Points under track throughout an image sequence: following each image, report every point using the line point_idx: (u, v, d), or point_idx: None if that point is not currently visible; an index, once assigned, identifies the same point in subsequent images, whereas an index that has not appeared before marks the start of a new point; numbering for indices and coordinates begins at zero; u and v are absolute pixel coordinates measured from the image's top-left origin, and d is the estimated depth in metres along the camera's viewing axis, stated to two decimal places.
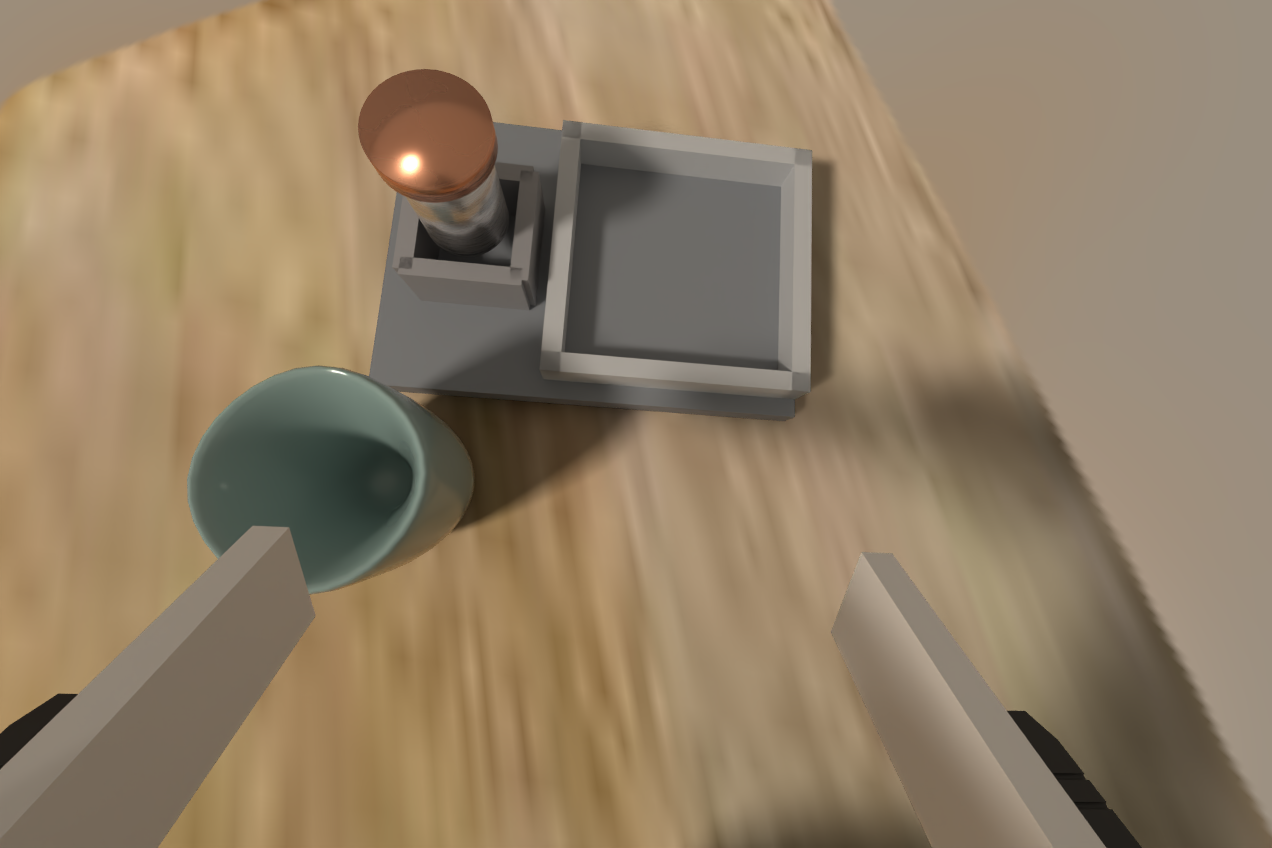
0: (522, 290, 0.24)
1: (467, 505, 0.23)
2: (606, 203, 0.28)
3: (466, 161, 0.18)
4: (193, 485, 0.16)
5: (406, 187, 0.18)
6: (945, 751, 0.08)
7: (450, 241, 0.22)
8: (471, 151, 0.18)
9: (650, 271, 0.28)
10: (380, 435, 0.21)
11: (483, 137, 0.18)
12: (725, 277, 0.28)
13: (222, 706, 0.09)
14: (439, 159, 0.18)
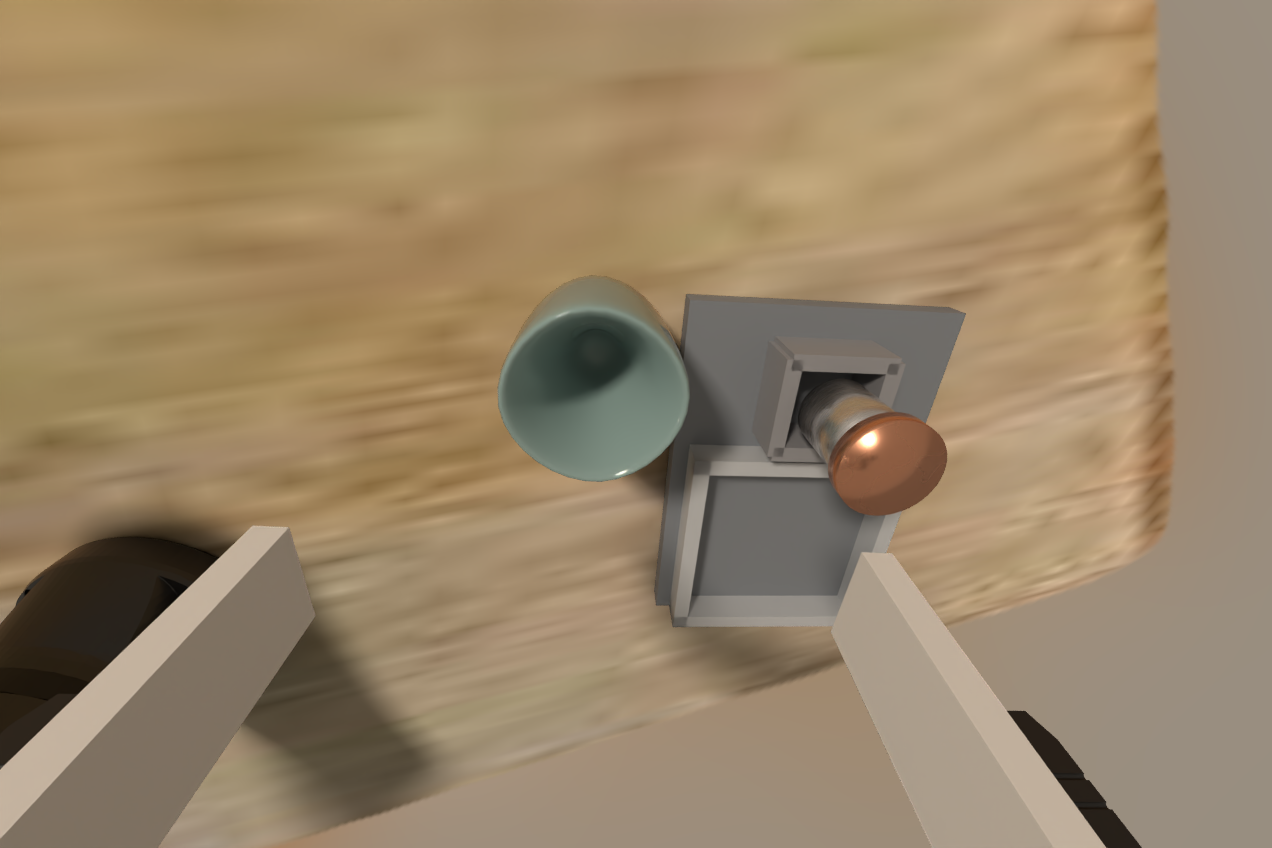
0: (764, 450, 0.28)
1: None
2: None
3: (855, 500, 0.22)
4: (582, 312, 0.18)
5: (840, 456, 0.21)
6: (945, 751, 0.08)
7: (808, 418, 0.25)
8: (864, 503, 0.22)
9: (777, 515, 0.34)
10: (635, 378, 0.24)
11: (874, 510, 0.22)
12: (767, 563, 0.36)
13: (222, 707, 0.09)
14: (860, 482, 0.21)
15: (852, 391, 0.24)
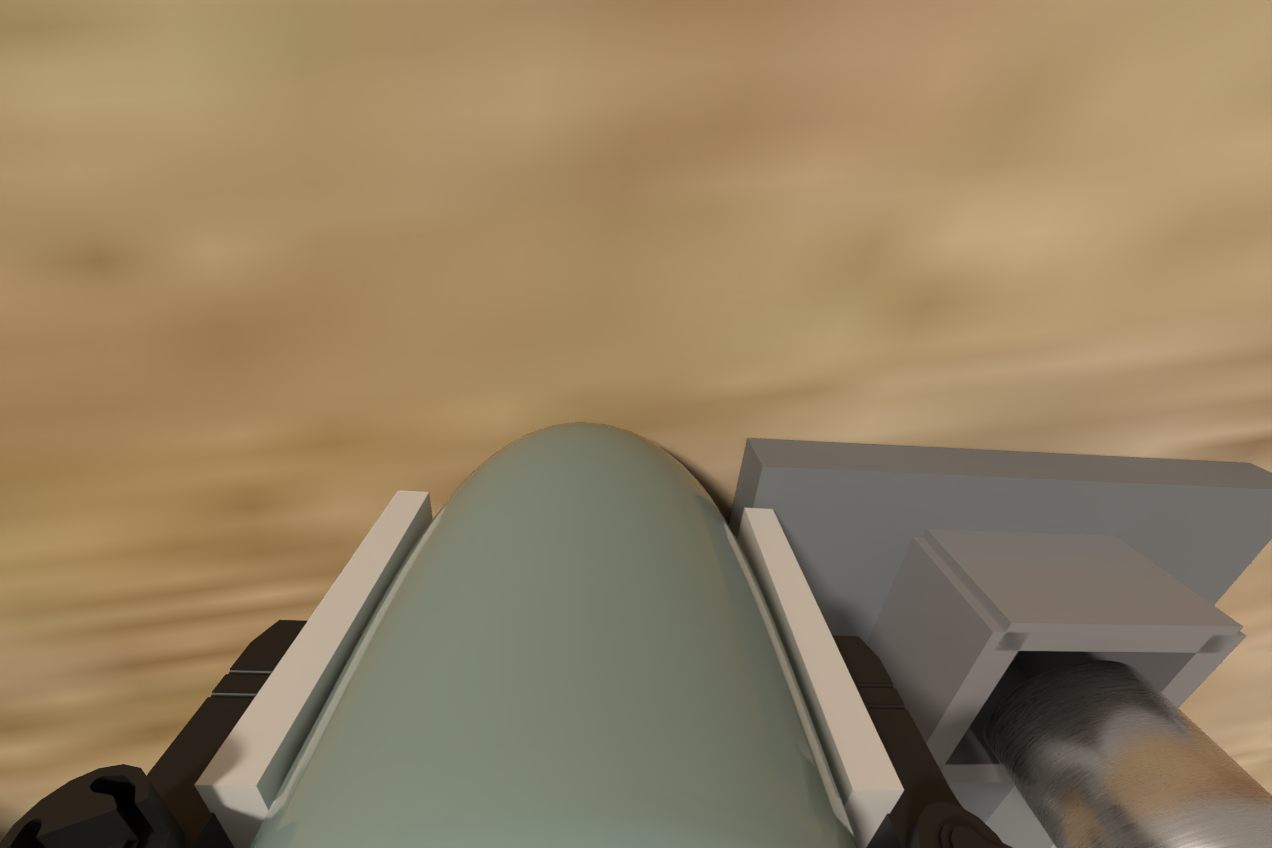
0: None
1: None
2: None
3: None
4: None
5: None
6: None
7: (1035, 763, 0.11)
8: None
9: None
10: None
11: None
12: None
13: None
14: None
15: (1166, 739, 0.10)
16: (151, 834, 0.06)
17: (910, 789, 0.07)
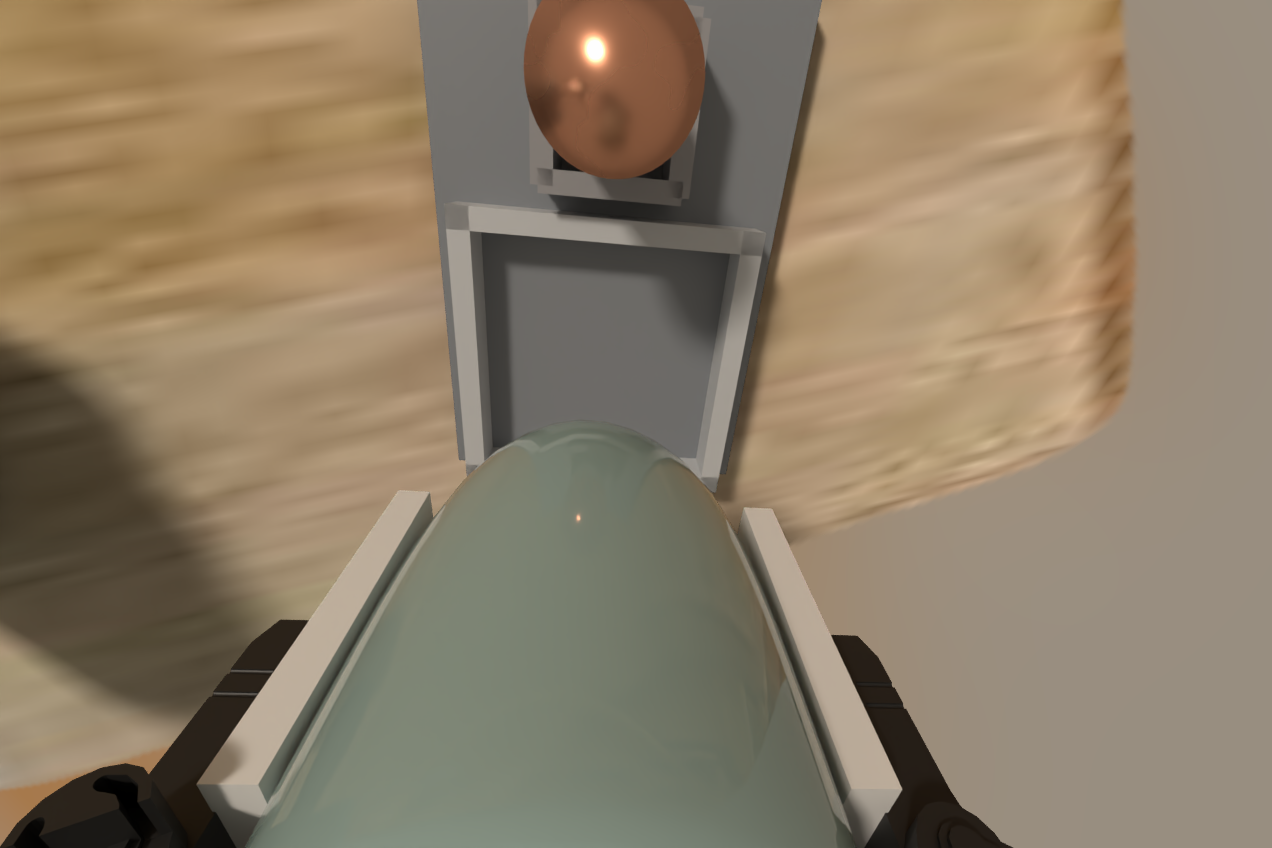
0: None
1: None
2: (679, 279, 0.24)
3: (568, 142, 0.14)
4: None
5: (527, 46, 0.13)
6: None
7: None
8: (583, 148, 0.14)
9: (598, 328, 0.25)
10: None
11: (604, 166, 0.14)
12: (596, 403, 0.27)
13: None
14: (566, 100, 0.13)
15: None
16: (153, 833, 0.06)
17: (908, 788, 0.08)
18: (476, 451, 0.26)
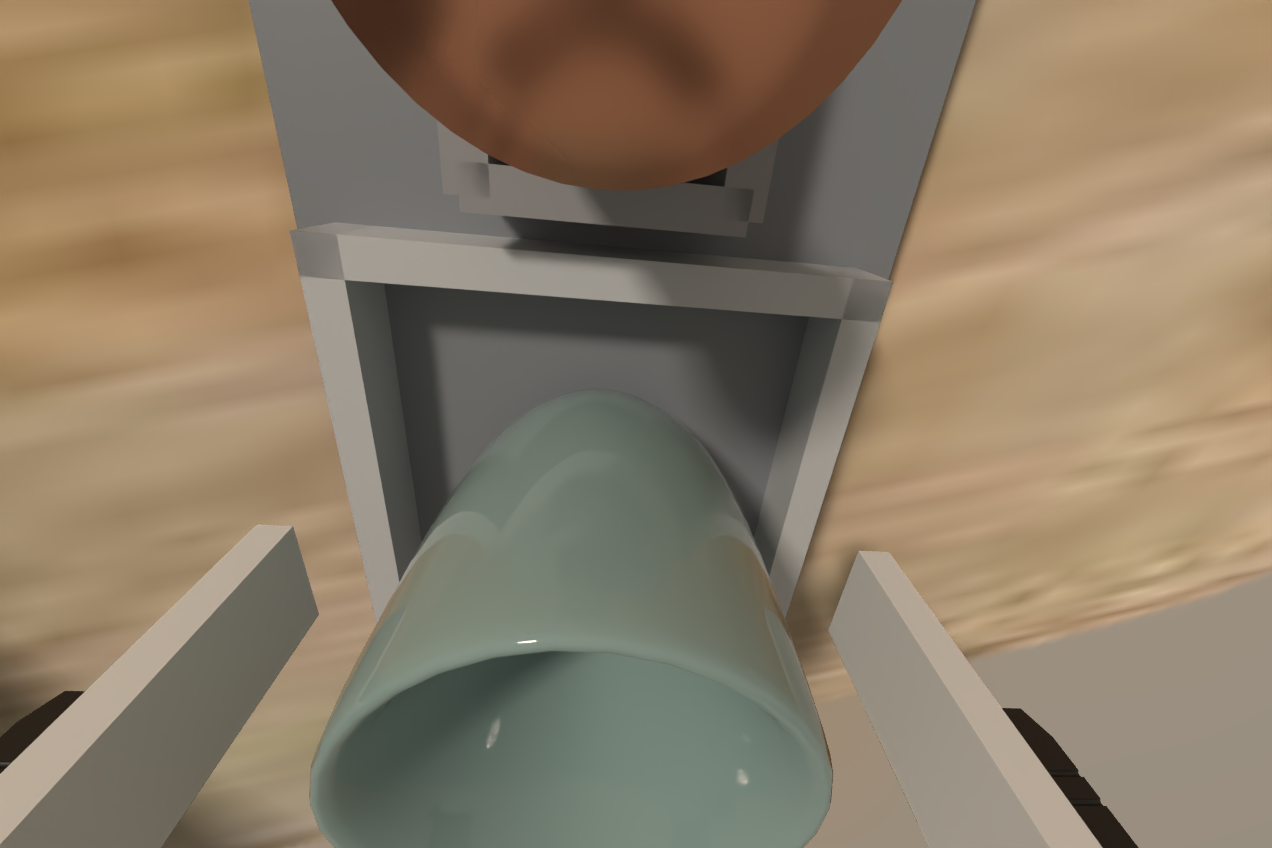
0: None
1: None
2: (724, 349, 0.15)
3: (445, 57, 0.04)
4: (534, 651, 0.06)
5: None
6: (941, 748, 0.08)
7: None
8: (502, 83, 0.04)
9: None
10: None
11: (579, 146, 0.04)
12: None
13: (226, 705, 0.09)
14: None
15: None
16: None
17: None
18: None
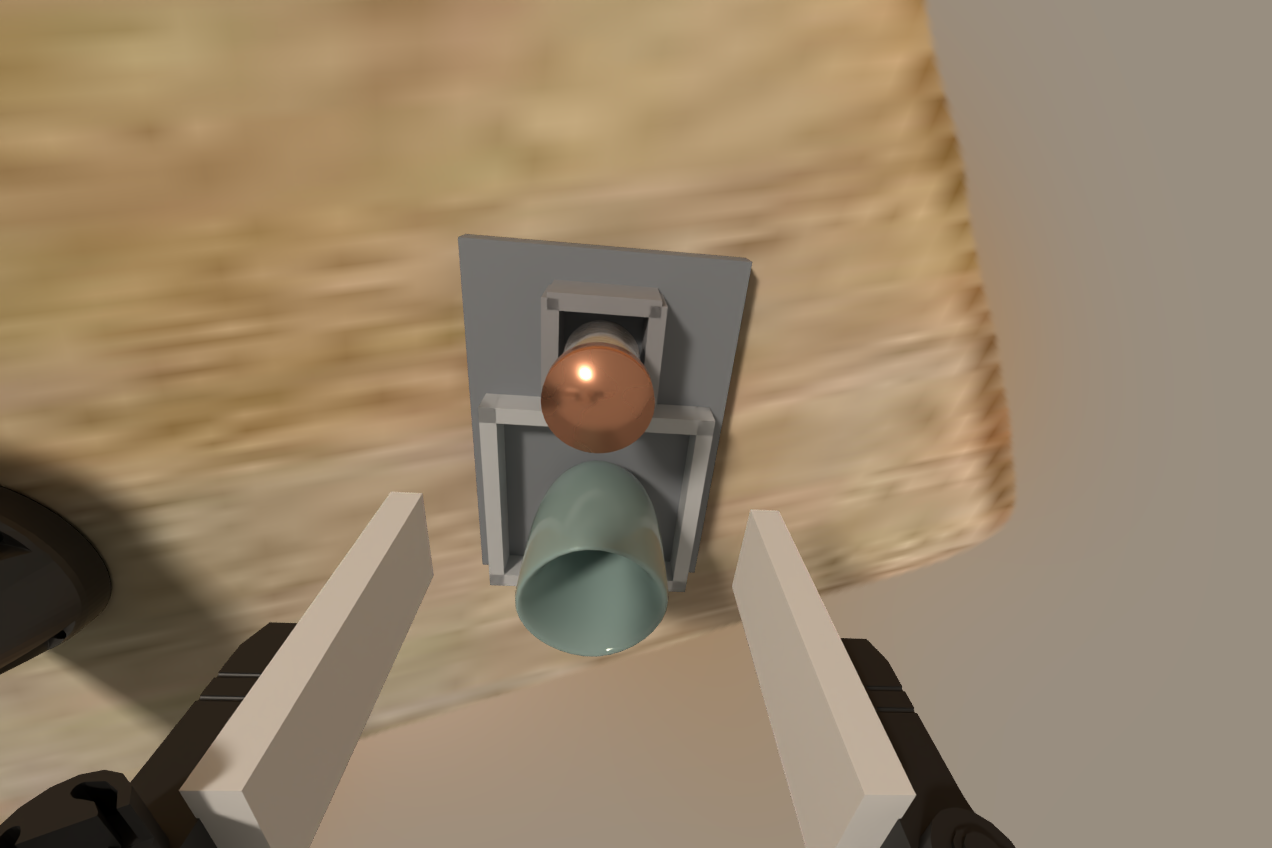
0: None
1: None
2: (653, 440, 0.32)
3: (568, 435, 0.21)
4: (582, 550, 0.23)
5: None
6: (789, 671, 0.10)
7: None
8: (578, 438, 0.21)
9: None
10: (627, 559, 0.29)
11: (591, 447, 0.21)
12: None
13: (385, 642, 0.10)
14: (567, 415, 0.21)
15: (595, 330, 0.23)
16: (134, 840, 0.06)
17: (921, 793, 0.07)
18: (497, 565, 0.34)
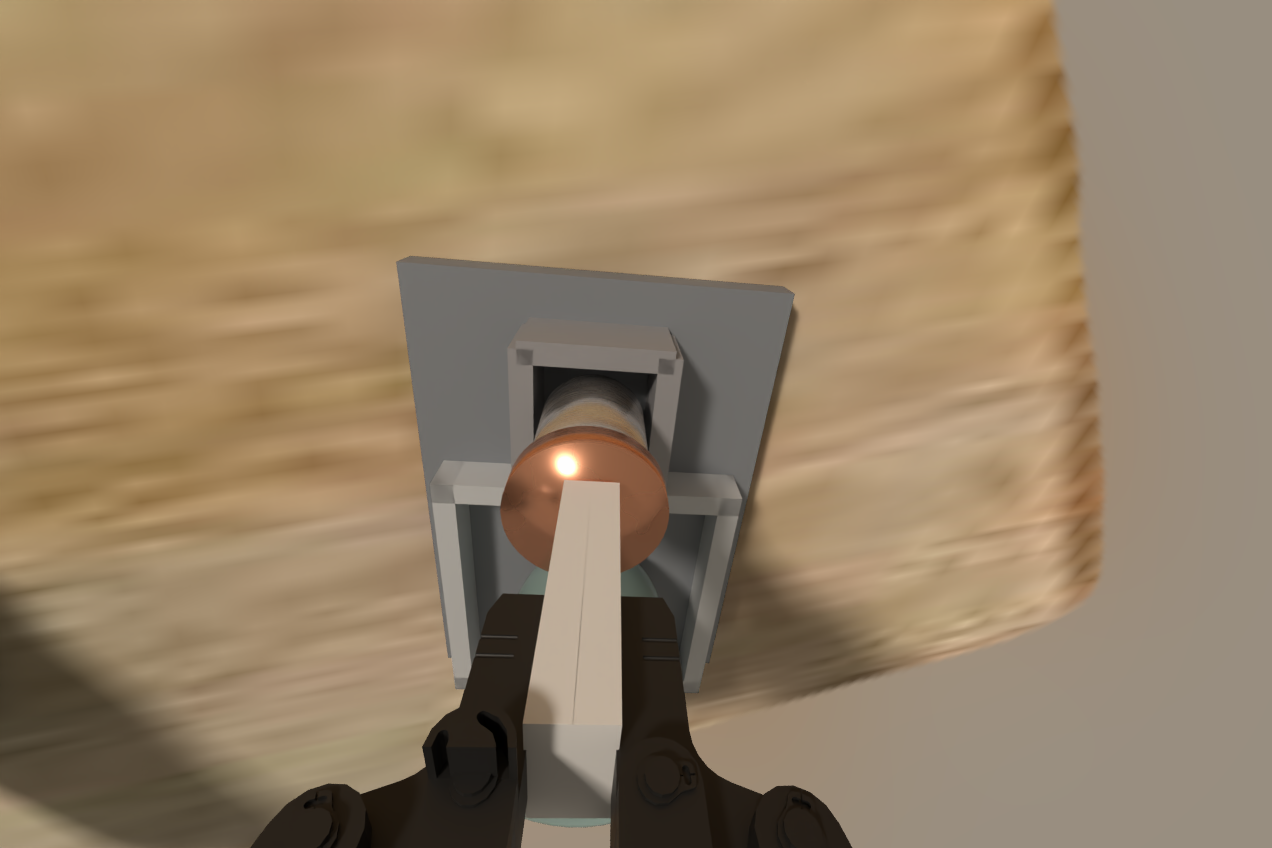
0: None
1: None
2: None
3: (543, 556, 0.15)
4: None
5: (503, 492, 0.14)
6: None
7: None
8: None
9: None
10: None
11: None
12: None
13: None
14: (541, 531, 0.14)
15: (584, 393, 0.17)
16: (506, 775, 0.07)
17: (649, 729, 0.08)
18: (464, 667, 0.27)
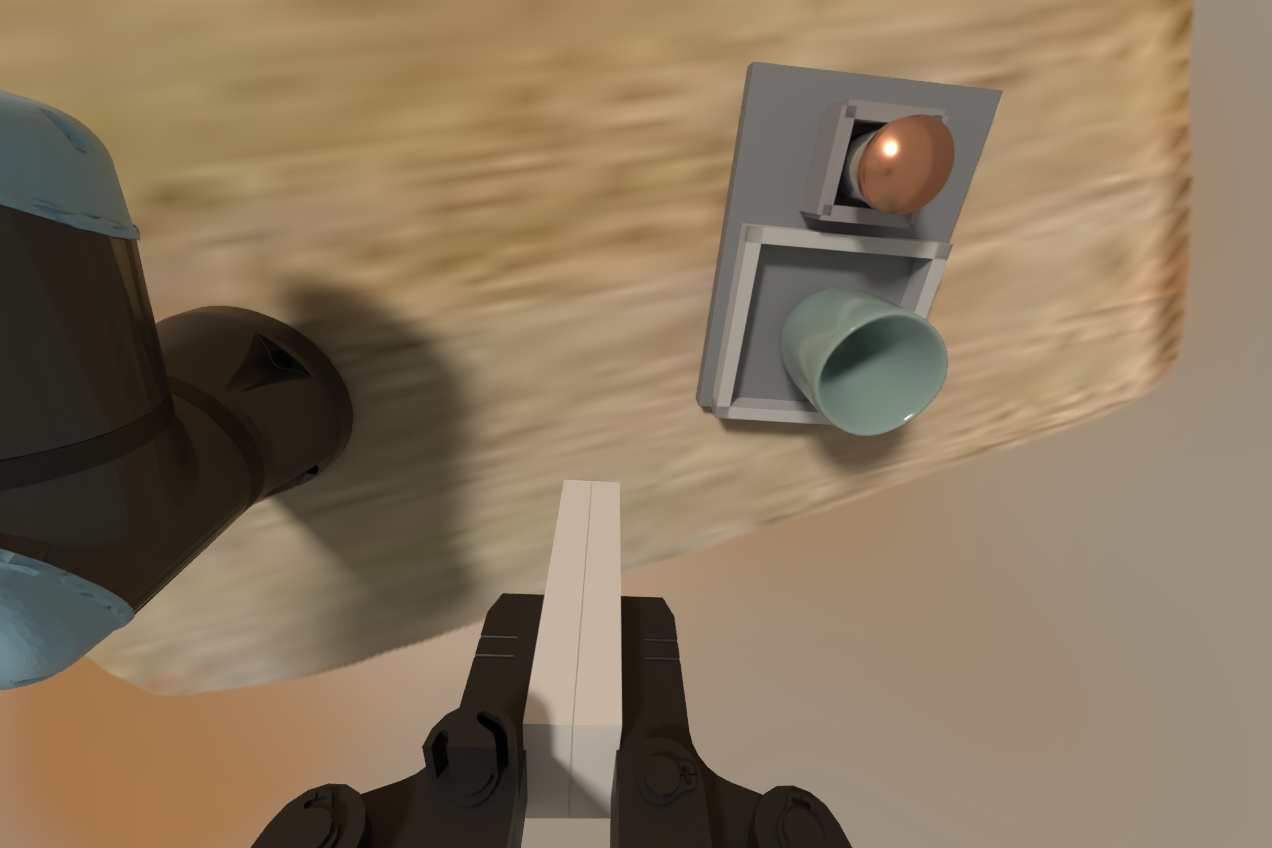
0: (813, 213, 0.31)
1: None
2: (879, 275, 0.35)
3: (879, 196, 0.27)
4: (890, 316, 0.27)
5: (868, 151, 0.26)
6: None
7: None
8: (885, 199, 0.27)
9: None
10: (878, 363, 0.32)
11: (894, 208, 0.27)
12: None
13: None
14: (883, 177, 0.27)
15: None
16: (506, 775, 0.07)
17: (649, 729, 0.08)
18: (726, 396, 0.37)
